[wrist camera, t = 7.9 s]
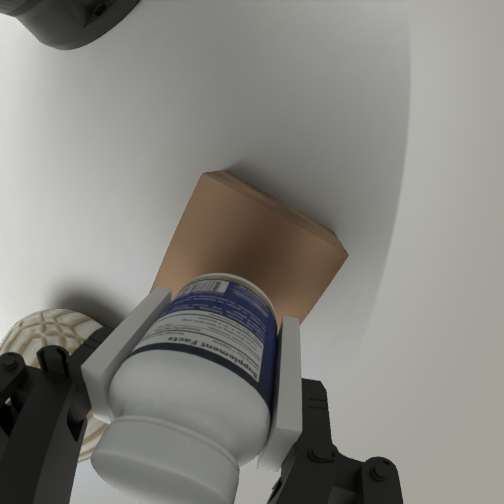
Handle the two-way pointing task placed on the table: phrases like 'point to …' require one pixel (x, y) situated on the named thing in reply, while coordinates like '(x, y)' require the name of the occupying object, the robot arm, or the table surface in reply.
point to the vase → (65, 335)
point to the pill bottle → (193, 396)
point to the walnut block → (252, 245)
